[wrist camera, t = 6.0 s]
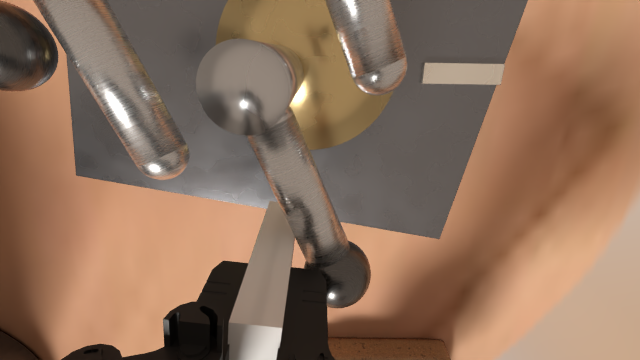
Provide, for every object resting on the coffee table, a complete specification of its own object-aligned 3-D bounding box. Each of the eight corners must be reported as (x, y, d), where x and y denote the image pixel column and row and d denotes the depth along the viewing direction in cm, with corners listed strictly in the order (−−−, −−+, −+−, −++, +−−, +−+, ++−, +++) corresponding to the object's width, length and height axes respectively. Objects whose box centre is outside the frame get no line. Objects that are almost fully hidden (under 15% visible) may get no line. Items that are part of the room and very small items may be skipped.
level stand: (98, 164, 21) (48, 188, 17) (80, -155, 15) (2, -223, 12) (430, 223, 22) (452, 258, 19) (527, -51, 17) (586, -82, 13)
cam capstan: (229, 244, 21) (165, 377, 12) (97, 12, 16) (-153, -32, 8) (460, 163, 19) (573, 255, 10) (385, -129, 14) (478, -404, 6)
